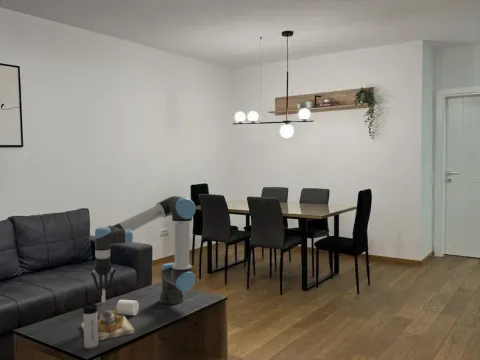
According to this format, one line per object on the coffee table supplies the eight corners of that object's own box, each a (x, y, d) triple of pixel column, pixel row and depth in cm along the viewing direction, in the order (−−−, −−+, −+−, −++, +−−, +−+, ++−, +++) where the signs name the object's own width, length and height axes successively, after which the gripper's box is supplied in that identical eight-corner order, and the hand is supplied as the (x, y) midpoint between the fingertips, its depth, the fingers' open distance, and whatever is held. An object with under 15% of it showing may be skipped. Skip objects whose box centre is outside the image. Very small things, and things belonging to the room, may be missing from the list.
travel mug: (87, 343, 210) (85, 302, 208) (100, 343, 209) (99, 302, 208) (81, 349, 203) (79, 306, 202) (94, 349, 203) (93, 307, 202)
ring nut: (119, 317, 236) (118, 308, 236) (127, 328, 220) (127, 318, 220) (88, 323, 228) (88, 313, 228) (95, 335, 213) (95, 325, 213)
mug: (133, 317, 242) (132, 303, 242) (116, 316, 244) (115, 302, 244) (142, 310, 254) (141, 296, 253) (126, 308, 256) (125, 295, 255)
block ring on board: (123, 318, 240) (123, 301, 240) (134, 332, 221) (134, 314, 221) (81, 326, 230) (81, 308, 229) (89, 342, 211) (88, 323, 210)
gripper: (113, 254, 235) (114, 297, 237) (88, 257, 229) (89, 301, 230) (117, 257, 229) (117, 301, 230) (91, 260, 222) (91, 305, 224)
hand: (103, 301), depth 230 cm, fingers closed
